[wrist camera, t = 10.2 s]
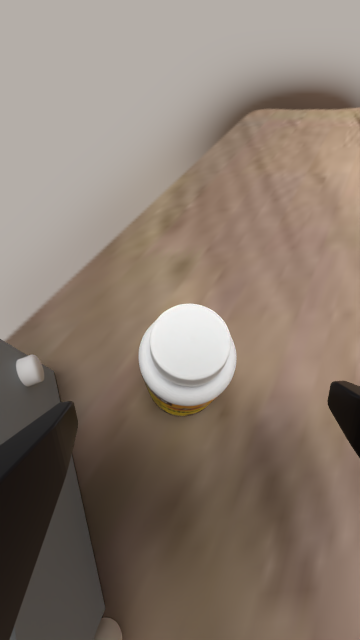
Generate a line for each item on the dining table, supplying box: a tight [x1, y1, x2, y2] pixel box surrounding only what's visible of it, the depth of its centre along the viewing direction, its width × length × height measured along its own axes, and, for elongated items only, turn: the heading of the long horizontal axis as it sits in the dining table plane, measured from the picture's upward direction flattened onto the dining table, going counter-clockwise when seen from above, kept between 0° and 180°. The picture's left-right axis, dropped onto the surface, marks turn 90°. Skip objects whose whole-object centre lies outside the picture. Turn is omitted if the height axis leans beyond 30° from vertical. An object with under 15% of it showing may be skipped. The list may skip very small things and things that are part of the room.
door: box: [0, 339, 105, 640], centre depth 14 cm, size 16×3×9 cm, turn 22°
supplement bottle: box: [139, 304, 236, 416], centre depth 17 cm, size 6×6×10 cm
